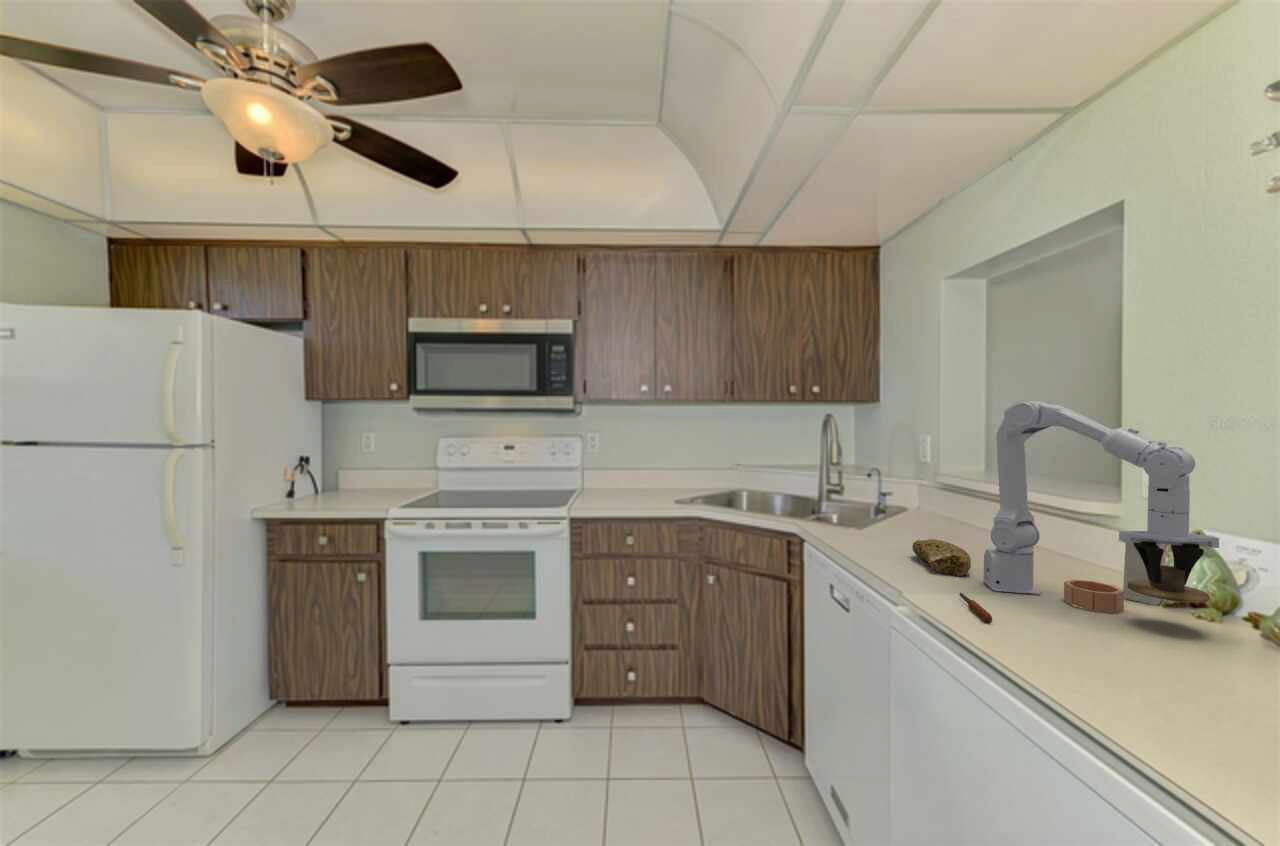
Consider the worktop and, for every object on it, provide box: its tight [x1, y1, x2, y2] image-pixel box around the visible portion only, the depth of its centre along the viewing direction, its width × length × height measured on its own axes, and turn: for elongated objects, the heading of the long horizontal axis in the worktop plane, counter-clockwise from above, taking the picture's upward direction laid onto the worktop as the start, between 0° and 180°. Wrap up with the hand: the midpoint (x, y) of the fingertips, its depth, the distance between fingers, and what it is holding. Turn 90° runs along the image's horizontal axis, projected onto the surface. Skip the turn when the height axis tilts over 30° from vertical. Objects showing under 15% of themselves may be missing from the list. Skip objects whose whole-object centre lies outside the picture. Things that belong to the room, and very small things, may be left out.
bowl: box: [1063, 579, 1125, 614], centre depth 117 cm, size 9×9×4 cm
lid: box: [1128, 565, 1210, 604], centre depth 104 cm, size 11×11×5 cm
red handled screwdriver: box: [958, 592, 993, 624], centre depth 114 cm, size 16×1×2 cm, turn 168°
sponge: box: [912, 538, 972, 577], centre depth 147 cm, size 13×8×20 cm
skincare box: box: [1122, 528, 1167, 606], centre depth 121 cm, size 8×6×15 cm
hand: (1166, 582), depth 104 cm, fingers closed on lid, 3 cm apart
